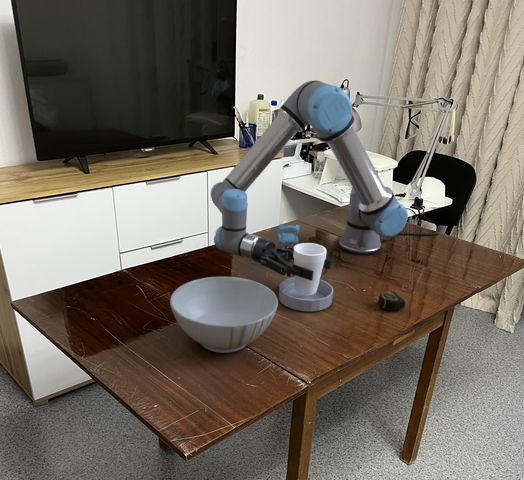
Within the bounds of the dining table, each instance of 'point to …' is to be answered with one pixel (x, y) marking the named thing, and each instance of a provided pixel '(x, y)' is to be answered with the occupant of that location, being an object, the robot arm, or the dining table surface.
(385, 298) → the tape measure
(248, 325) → the decorative bowl
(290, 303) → the white plant saucer
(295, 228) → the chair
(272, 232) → the dining table surface
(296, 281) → the foam cup
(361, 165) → the robot arm
